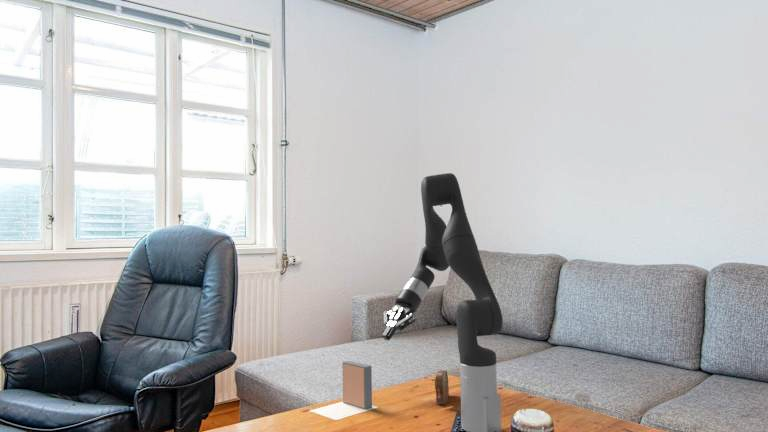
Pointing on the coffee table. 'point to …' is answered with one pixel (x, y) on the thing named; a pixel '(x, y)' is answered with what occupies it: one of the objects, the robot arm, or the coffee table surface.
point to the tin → (441, 387)
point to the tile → (357, 384)
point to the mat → (339, 410)
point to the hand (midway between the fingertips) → (385, 338)
